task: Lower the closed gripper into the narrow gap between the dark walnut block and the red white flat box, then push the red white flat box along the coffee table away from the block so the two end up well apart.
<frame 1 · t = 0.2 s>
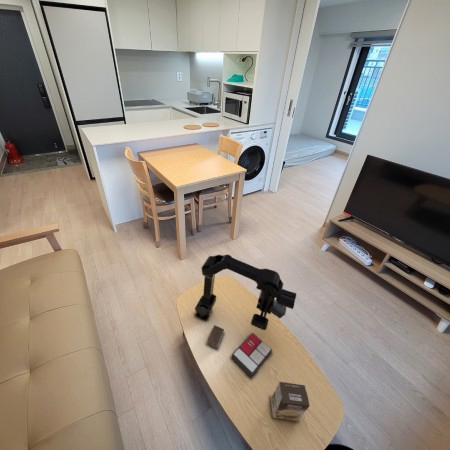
hand: (260, 318, 103), 15 cm above the table, tool pointing down, fingers open, 9 cm apart
coffee box: (283, 409, 88), on the table
walnut block: (215, 339, 110), on the table
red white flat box: (251, 355, 104), on the table
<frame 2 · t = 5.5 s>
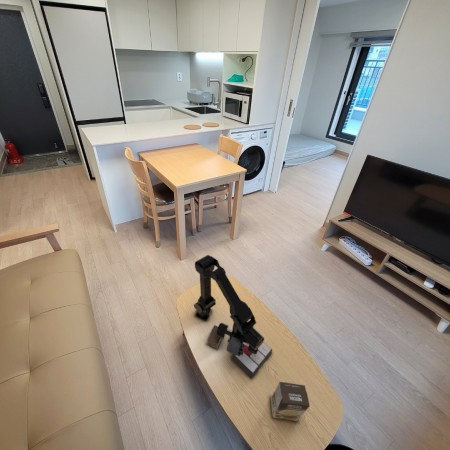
hand: (235, 347, 106), 1 cm above the table, tool pointing down, fingers closed
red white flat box: (251, 355, 104), on the table, touching gripper
everything else where it was.
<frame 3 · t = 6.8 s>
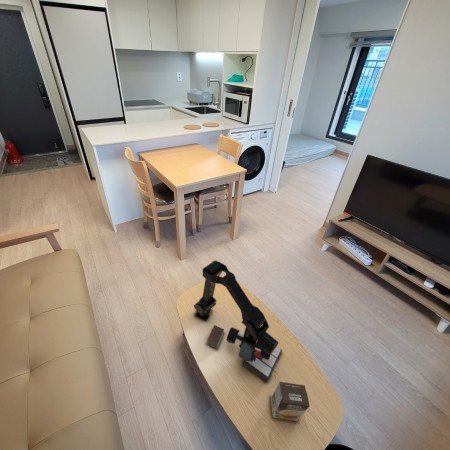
hand: (246, 352, 104), 1 cm above the table, tool pointing down, fingers closed
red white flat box: (262, 359, 103), on the table, touching gripper
everything else where it was.
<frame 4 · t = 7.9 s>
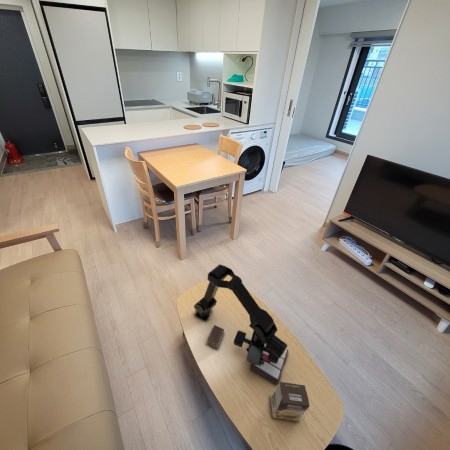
hand: (253, 355, 103), 1 cm above the table, tool pointing down, fingers closed
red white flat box: (269, 361, 103), on the table, touching gripper
everything else where it was.
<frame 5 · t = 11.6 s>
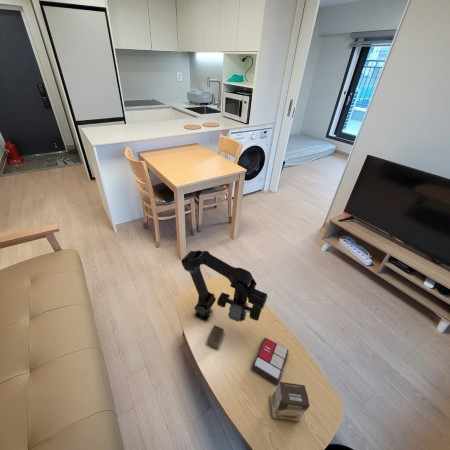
hand: (237, 316, 107), 12 cm above the table, tool pointing down, fingers closed
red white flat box: (269, 361, 103), on the table
everything else where it was.
at the end: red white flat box inside the target area on the table beside the walnut block (3.1 cm from its centre), on the table; walnut block moved 0.0 cm from its start; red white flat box tilted 0° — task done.
